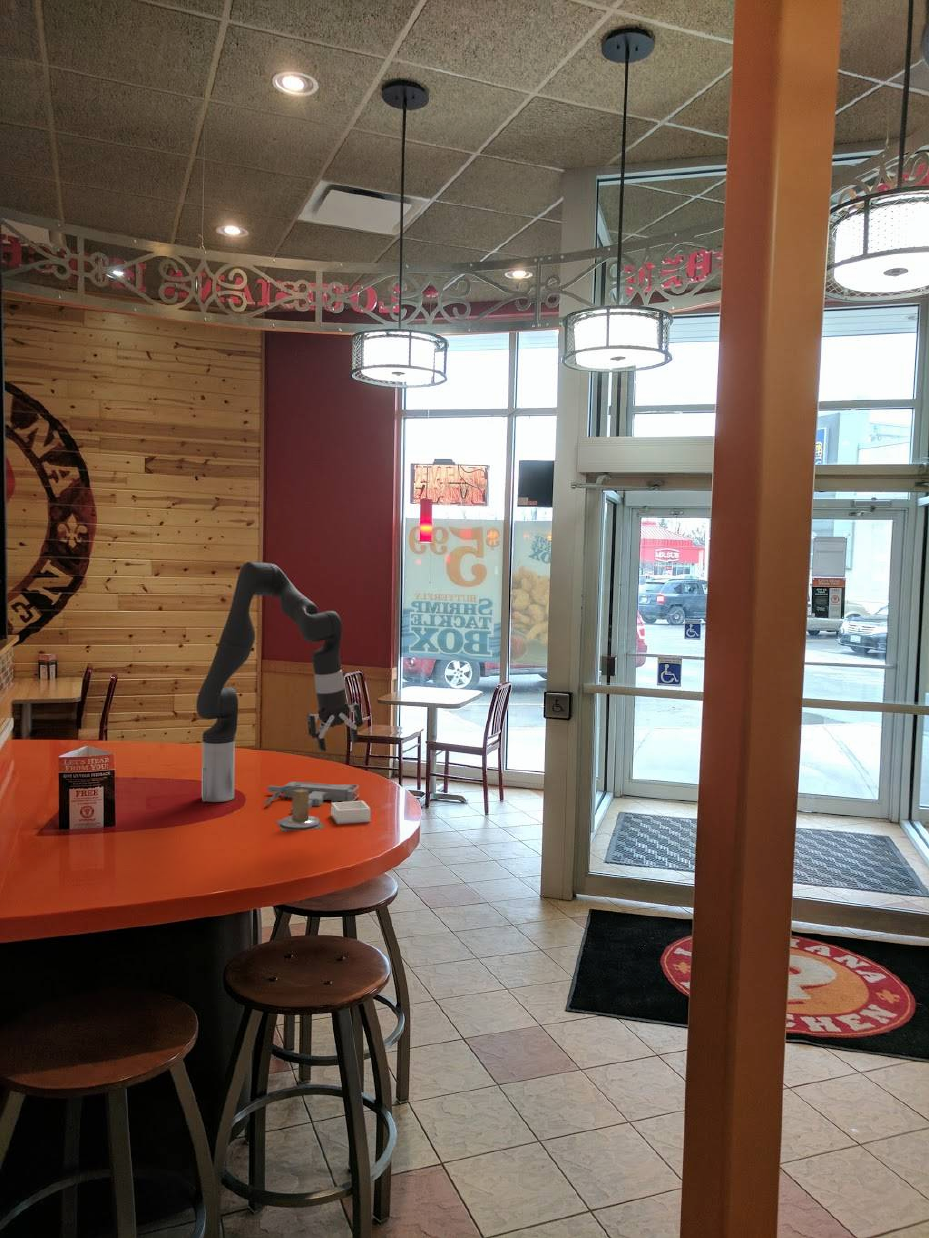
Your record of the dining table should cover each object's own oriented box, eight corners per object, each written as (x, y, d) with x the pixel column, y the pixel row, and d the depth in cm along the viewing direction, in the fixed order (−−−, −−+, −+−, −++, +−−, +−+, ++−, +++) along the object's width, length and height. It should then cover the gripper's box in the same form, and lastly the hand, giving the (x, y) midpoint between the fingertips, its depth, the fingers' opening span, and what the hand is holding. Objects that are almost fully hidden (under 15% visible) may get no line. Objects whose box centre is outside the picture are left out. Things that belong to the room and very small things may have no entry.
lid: (297, 831, 233) (297, 797, 232) (273, 823, 239) (273, 790, 239) (326, 823, 240) (327, 790, 240) (303, 816, 247) (303, 784, 246)
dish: (337, 825, 240) (337, 810, 240) (331, 816, 249) (331, 802, 249) (370, 823, 243) (370, 808, 243) (362, 814, 252) (363, 800, 252)
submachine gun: (332, 807, 247) (361, 782, 272) (238, 800, 253) (274, 776, 277) (332, 823, 248) (361, 797, 272) (238, 816, 253) (274, 791, 278)
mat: (282, 832, 233) (282, 831, 233) (276, 821, 243) (276, 819, 243) (324, 829, 236) (324, 828, 236) (317, 818, 247) (317, 817, 247)
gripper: (350, 679, 240) (358, 736, 243) (299, 691, 233) (308, 750, 237) (361, 684, 233) (369, 743, 236) (308, 697, 227) (317, 757, 230)
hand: (338, 746), depth 237 cm, fingers open, 8 cm apart
